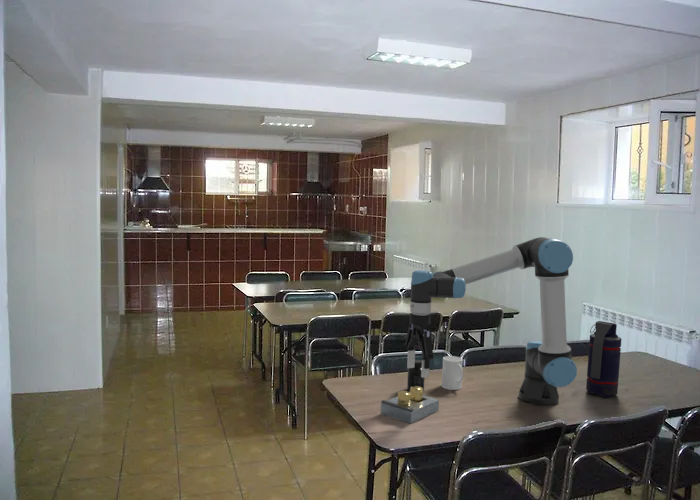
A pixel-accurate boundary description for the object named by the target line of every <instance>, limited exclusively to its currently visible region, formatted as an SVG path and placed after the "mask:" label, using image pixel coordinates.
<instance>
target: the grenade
mask: <svg viewBox="0 0 700 500" xmlns="http://www.w3.org/2000/svg"><path fill="white" fill-rule="evenodd" d="M617 326H618V325H617V323H614V322H608V321H601V320H598V321H595V323H594V324H592V326H591V327H590V330H589V333H590V335H589V341H588V343H589V344H588V355H587V356H588V357H587V359H588V360H587V368H586V369H587V371H586V385H585V386H586V387H585V389H586V391H587V394H589V393H591V394H593V395H598V396H602V397H603V399H610V397H614V396H617V395H618V391H619V390H618V389H619V376H620V366H621V363H620V362H621V350H622V348H621V347H622V338H621V337H620V336H618V335H619V334H617ZM593 327H594V329H593V330H592V328H593Z"/></svg>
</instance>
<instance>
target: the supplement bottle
mask: <svg viewBox="0 0 700 500" xmlns="http://www.w3.org/2000/svg"><path fill="white" fill-rule="evenodd" d="M421 370H422V360H420V359H415V366H414V368H407V382H406V385H407V386H406V387H407V388H406V389H407V390H408V392H410V387H412V386H419V387H422V388H423V392H424V390H425V377H423V378H422V377H421Z"/></svg>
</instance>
